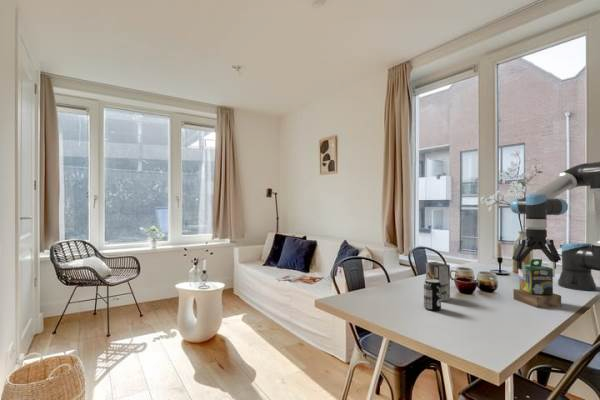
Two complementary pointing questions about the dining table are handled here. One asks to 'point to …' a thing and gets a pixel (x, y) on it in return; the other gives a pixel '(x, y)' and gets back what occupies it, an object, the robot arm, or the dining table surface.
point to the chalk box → (537, 279)
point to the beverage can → (432, 294)
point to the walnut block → (537, 299)
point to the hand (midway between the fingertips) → (536, 276)
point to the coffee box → (440, 277)
